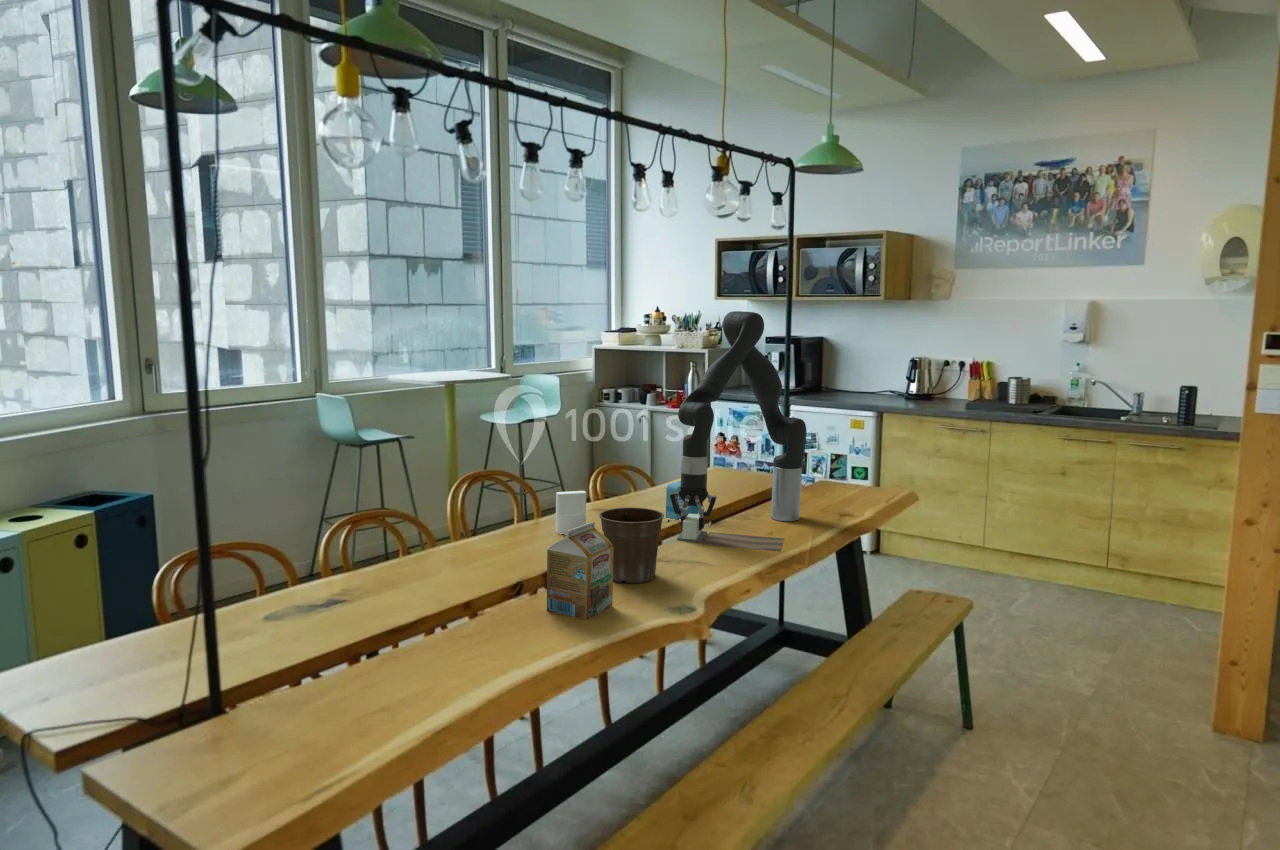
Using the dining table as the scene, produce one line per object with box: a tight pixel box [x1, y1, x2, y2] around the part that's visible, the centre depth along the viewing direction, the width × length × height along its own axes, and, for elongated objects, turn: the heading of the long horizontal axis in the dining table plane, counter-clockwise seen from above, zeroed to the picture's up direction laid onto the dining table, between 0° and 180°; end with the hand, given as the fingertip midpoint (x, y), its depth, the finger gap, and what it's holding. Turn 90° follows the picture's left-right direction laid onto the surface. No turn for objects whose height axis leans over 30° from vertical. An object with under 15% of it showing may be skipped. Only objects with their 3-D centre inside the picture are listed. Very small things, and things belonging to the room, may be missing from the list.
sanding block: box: [676, 513, 708, 543], centre depth 251 cm, size 10×7×6 cm
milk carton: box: [546, 521, 614, 621], centre depth 192 cm, size 10×11×19 cm
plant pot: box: [598, 507, 665, 584], centre depth 216 cm, size 16×16×16 cm
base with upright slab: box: [555, 490, 587, 534], centre depth 259 cm, size 9×9×12 cm
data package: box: [665, 480, 699, 520], centre depth 277 cm, size 12×4×12 cm, turn 141°
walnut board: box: [701, 531, 785, 552], centre depth 247 cm, size 14×22×2 cm, turn 76°
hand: (692, 528), depth 251 cm, fingers closed on sanding block, 4 cm apart
